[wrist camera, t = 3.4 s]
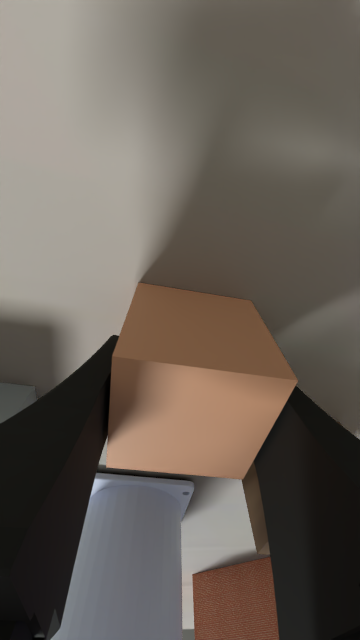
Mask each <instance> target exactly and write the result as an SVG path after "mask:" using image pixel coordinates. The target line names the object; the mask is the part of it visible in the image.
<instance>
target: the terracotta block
mask: <svg viewBox="0 0 360 640" xmlns="http://www.w3.org/2000/svg"><path fill="white" fill-rule="evenodd" d="M297 382H298V380H297V378H296V376H295V374H294V373H293V371H292V369H291V368H290V366H289V364H288V363H287V361H286V359H285V357H284V356H283V354H282V352H281V351H280V349H279V347H278V346H277V344H276V342H275V340H274V339H273V337H272V335H271V334H270V332H269V330H268V329H267V327H266V325H265V323H264V322H263V320H262V318H261V317H260V315H259V313H258V312H257V310H256V308H255V306H254V305H253V303H252V301H250V300H244V299H238V298H232V297H226V296H220V295H213V294H207V293H201V292H195V291H189V290H182V289H176V288H170V287H164V286H158V285H151V284H145V283H138V286H137V288H136V291H135V294H134V297H133V299H132V302H131V305H130V308H129V311H128V313H127V316H126V319H125V322H124V325H123V327H122V330H121V333H120V336H119V338H118V341H117V344H116V347H115V350H114V352H113V355H112V368H111V387H110V406H109V424H108V443H107V462H106V467H108V468H119V469H131V470H142V471H153V472H164V473H176V474H187V475H198V476H210V477H221V478H232V479H243V478H244V477H245V475H246V473H247V471H248V469H249V468H250V466H251V464H252V462H253V461H254V459H255V457H256V455H257V453H258V452H259V450H260V448H261V446H262V444H263V443H264V441H265V439H266V437H267V436H268V434H269V432H270V430H271V428H272V427H273V425H274V423H275V421H276V419H277V418H278V416H279V414H280V412H281V411H282V409H283V407H284V405H285V403H286V402H287V400H288V398H289V396H290V394H291V393H292V391H293V389H294V387H295V386H296V384H297Z"/></svg>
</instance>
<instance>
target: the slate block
mask: <svg viewBox="0 0 360 640" xmlns="http://www.w3.org/2000/svg"><path fill="white" fill-rule="evenodd" d="M36 401H37V397H36V390H35V386H27V385H18V384H9V383H1V382H0V423H2V422H4V421H5V420H7V419H9V418H10V417H12V416H14V415H15V414H17V413H18V412H20V411H22V410H23V409H25V408H26V407H28V406H29V405H31V404H32V403H34V402H36Z"/></svg>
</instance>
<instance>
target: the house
mask: <svg viewBox="0 0 360 640" xmlns="http://www.w3.org/2000/svg"><path fill="white" fill-rule="evenodd" d="M193 601H194V627H195V640H279V632H278V621H277V611H276V601H275V592H274V582H273V573H272V566H271V558H270V557H267V558H263V559H258V560H254V561H250V562H245V563H241V564H237V565H232V566H228V567H223V568H219V569H215V570H210V571H206V572H202V573H197V574H193Z"/></svg>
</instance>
